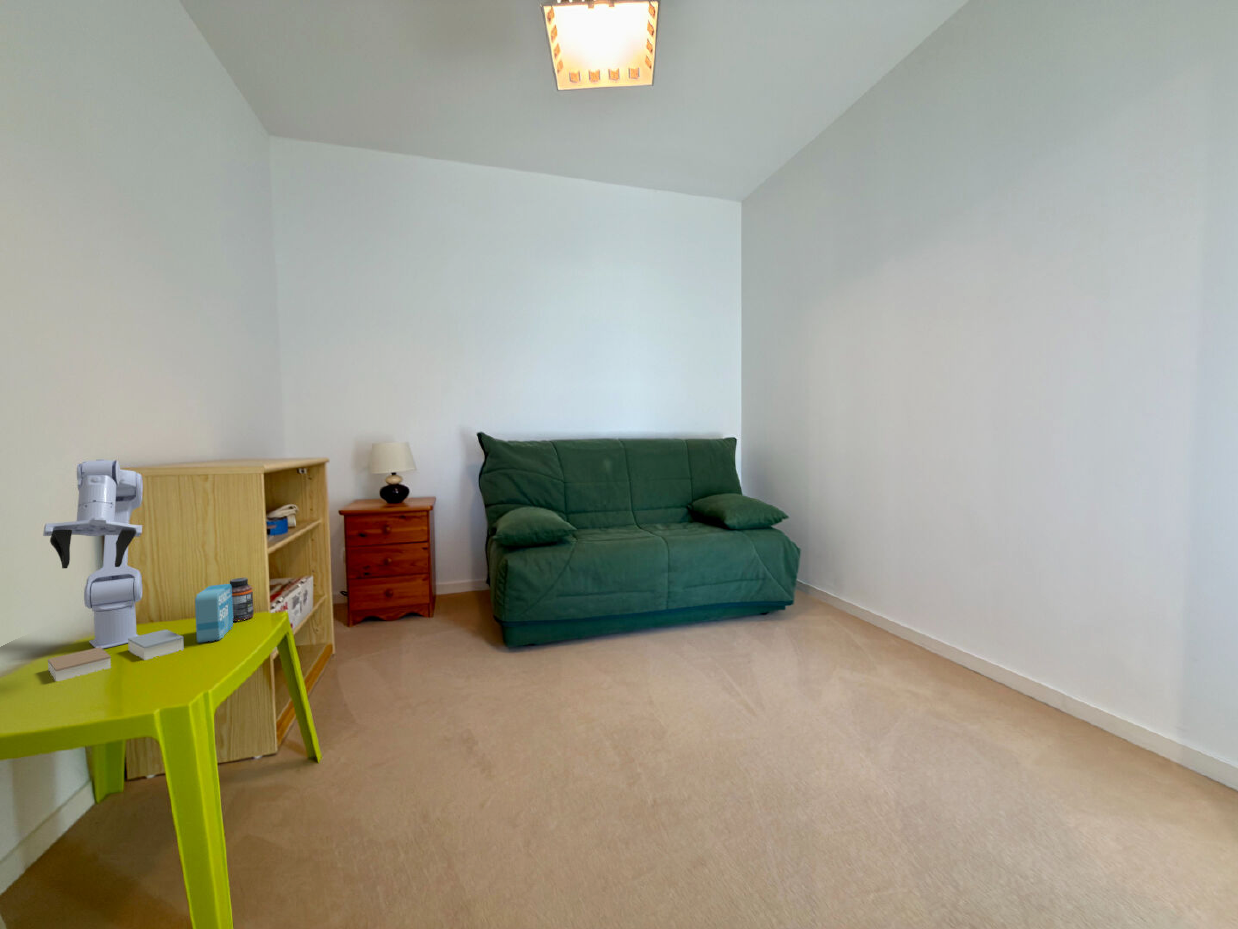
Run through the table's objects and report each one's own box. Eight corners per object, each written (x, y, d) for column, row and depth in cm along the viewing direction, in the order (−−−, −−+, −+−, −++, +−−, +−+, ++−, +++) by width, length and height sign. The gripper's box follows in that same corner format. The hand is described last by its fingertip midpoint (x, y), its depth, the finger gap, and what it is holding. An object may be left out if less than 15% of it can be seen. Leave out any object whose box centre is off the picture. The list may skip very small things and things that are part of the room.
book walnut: (48, 673, 109) (47, 659, 109) (100, 660, 116) (100, 647, 115) (56, 684, 103) (55, 669, 103) (111, 670, 110) (110, 656, 110)
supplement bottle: (230, 617, 143) (229, 578, 143) (256, 614, 146) (254, 575, 145) (224, 624, 138) (222, 582, 137) (250, 620, 140) (248, 580, 140)
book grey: (128, 652, 119) (127, 638, 119) (166, 643, 125) (165, 629, 125) (145, 661, 114) (144, 646, 114) (184, 651, 120) (183, 636, 120)
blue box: (219, 641, 124) (217, 593, 124) (196, 645, 123) (194, 595, 122) (233, 626, 135) (231, 582, 135) (212, 629, 134) (210, 584, 133)
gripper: (50, 496, 103) (43, 557, 97) (146, 501, 114) (145, 556, 109) (44, 513, 106) (37, 573, 101) (137, 516, 118) (136, 570, 112)
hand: (92, 565), depth 105 cm, fingers open, 7 cm apart
